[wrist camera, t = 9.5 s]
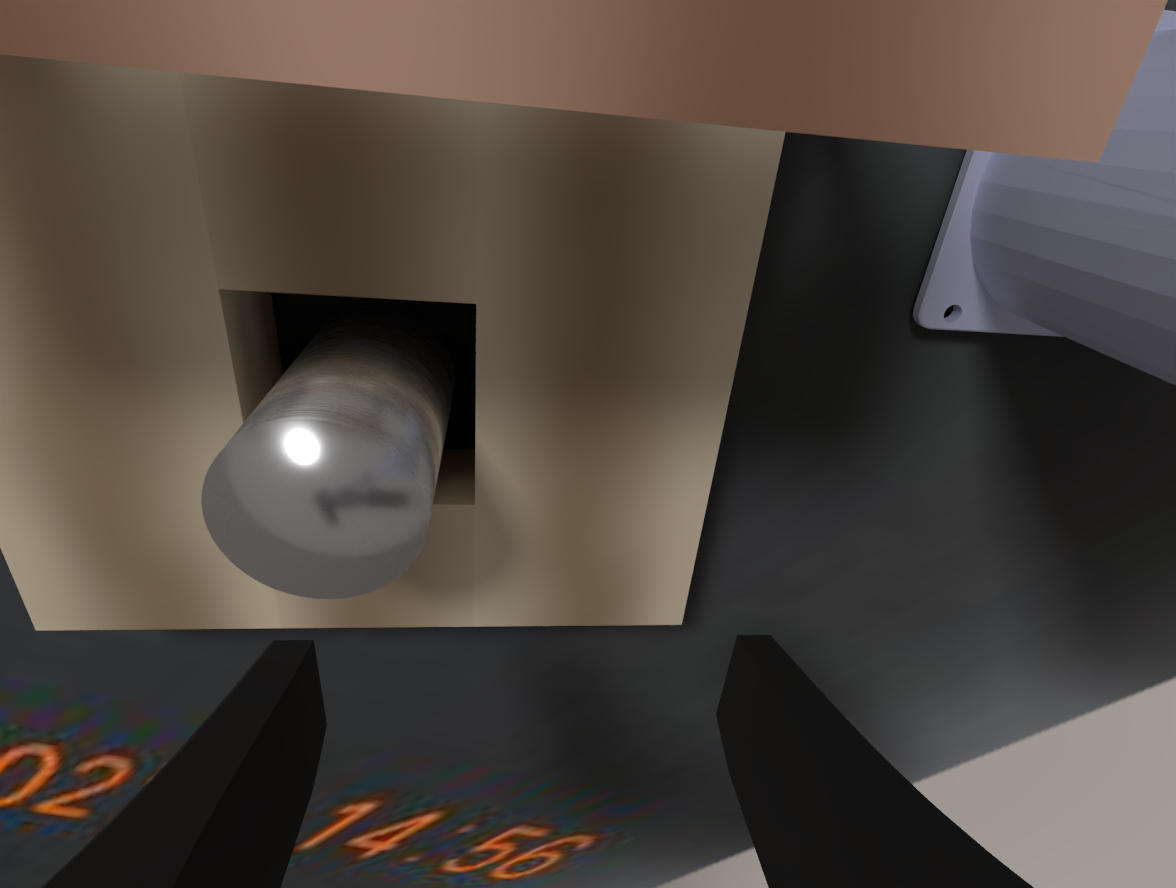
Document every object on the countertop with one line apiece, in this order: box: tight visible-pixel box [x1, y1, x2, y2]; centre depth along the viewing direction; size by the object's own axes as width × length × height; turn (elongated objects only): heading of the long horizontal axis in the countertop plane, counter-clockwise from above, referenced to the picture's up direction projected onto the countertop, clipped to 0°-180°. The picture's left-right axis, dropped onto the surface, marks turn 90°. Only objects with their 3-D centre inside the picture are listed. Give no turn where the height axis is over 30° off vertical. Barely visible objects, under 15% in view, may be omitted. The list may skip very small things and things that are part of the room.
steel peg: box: [201, 305, 455, 599], centre depth 15 cm, size 4×4×7 cm
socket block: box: [0, 0, 1168, 630], centre depth 12 cm, size 19×20×10 cm
